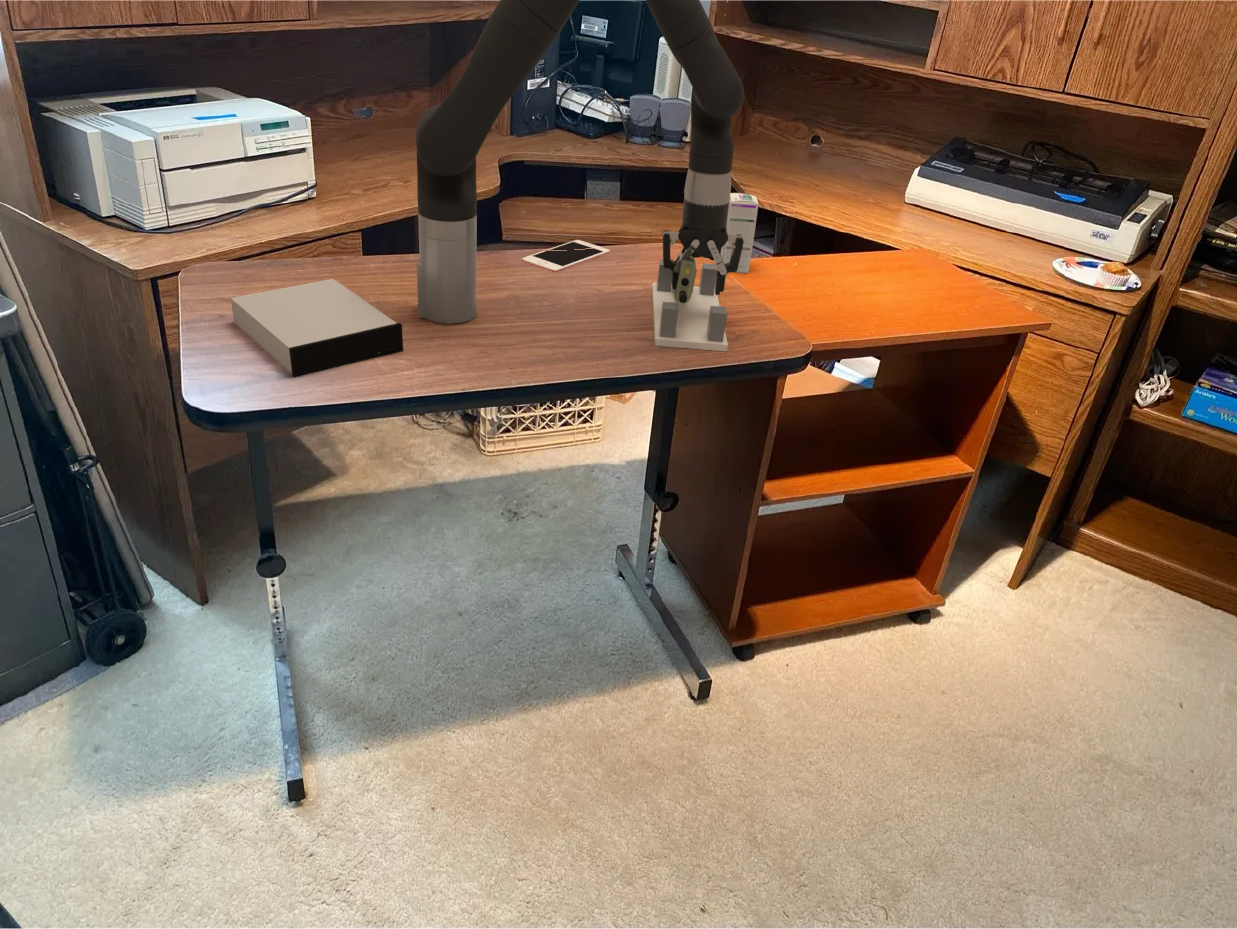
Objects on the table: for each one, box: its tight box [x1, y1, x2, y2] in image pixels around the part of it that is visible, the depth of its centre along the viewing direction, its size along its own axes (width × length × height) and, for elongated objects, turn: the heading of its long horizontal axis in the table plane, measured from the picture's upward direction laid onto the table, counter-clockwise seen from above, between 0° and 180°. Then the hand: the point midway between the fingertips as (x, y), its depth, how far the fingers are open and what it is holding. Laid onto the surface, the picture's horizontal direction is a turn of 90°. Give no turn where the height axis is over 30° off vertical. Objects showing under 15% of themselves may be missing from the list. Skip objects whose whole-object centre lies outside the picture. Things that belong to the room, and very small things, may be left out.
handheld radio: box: [675, 255, 698, 304], centre depth 161 cm, size 7×3×25 cm
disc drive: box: [230, 278, 404, 378], centre depth 144 cm, size 18×22×5 cm
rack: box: [651, 258, 729, 352], centre depth 162 cm, size 12×26×6 cm, turn 179°
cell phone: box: [521, 239, 611, 273], centre depth 186 cm, size 9×18×1 cm, turn 144°
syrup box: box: [720, 192, 759, 274], centre depth 185 cm, size 6×6×14 cm
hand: (697, 292), depth 162 cm, fingers open, 6 cm apart
